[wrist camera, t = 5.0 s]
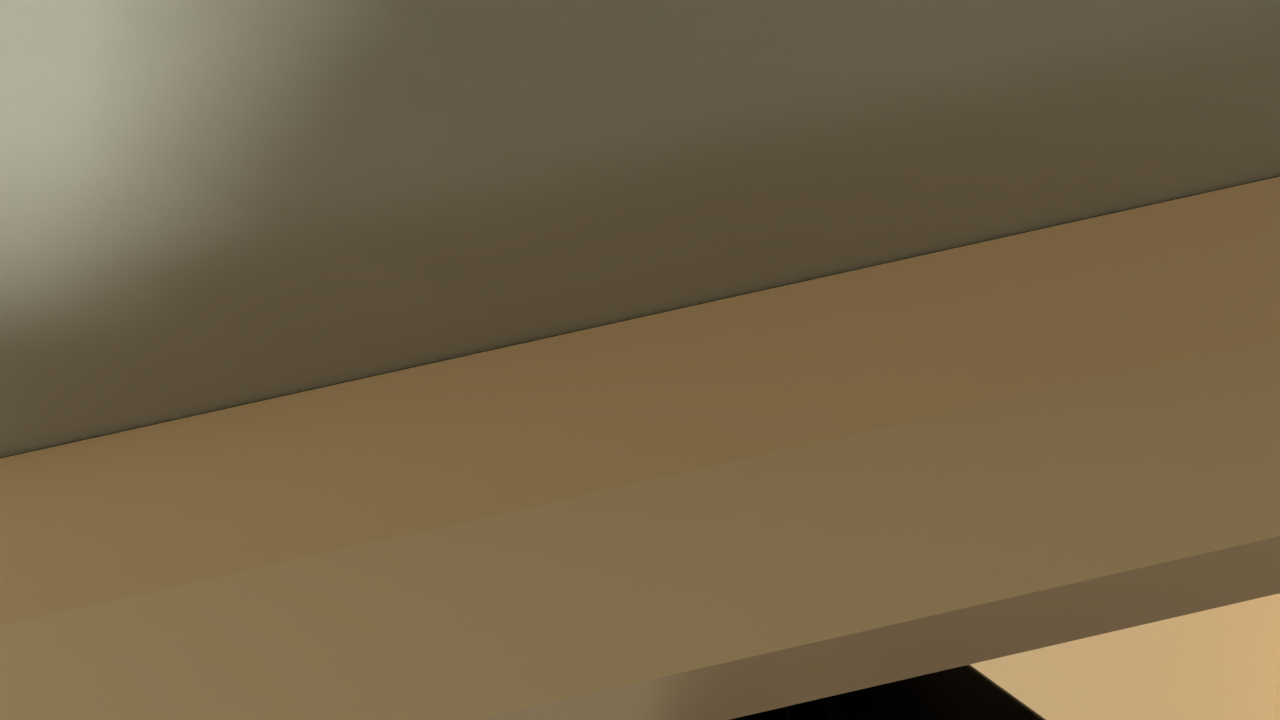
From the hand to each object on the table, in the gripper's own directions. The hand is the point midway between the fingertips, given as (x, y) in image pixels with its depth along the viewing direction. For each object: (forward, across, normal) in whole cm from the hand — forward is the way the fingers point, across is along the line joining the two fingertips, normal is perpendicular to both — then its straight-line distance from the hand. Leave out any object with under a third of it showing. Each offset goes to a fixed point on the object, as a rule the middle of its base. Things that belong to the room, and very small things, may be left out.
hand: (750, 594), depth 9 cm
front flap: (+2, 0, 0) cm, 2 cm away
